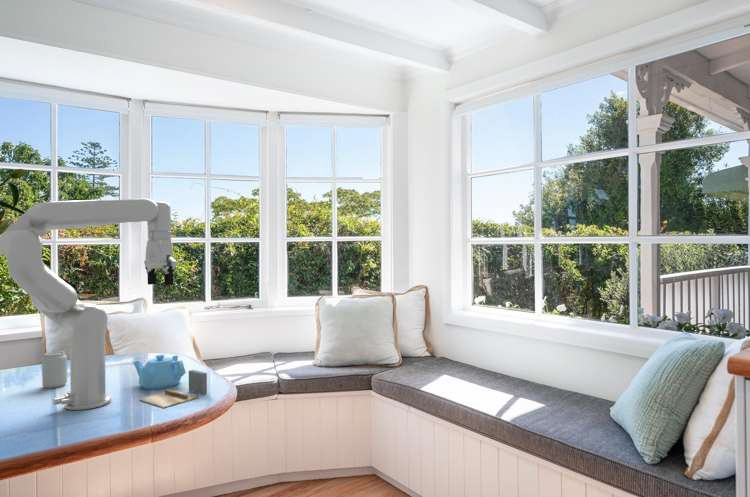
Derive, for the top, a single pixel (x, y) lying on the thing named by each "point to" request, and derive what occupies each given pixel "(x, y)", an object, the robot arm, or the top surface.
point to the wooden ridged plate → (168, 398)
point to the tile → (198, 382)
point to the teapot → (160, 372)
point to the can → (54, 369)
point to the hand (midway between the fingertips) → (160, 284)
